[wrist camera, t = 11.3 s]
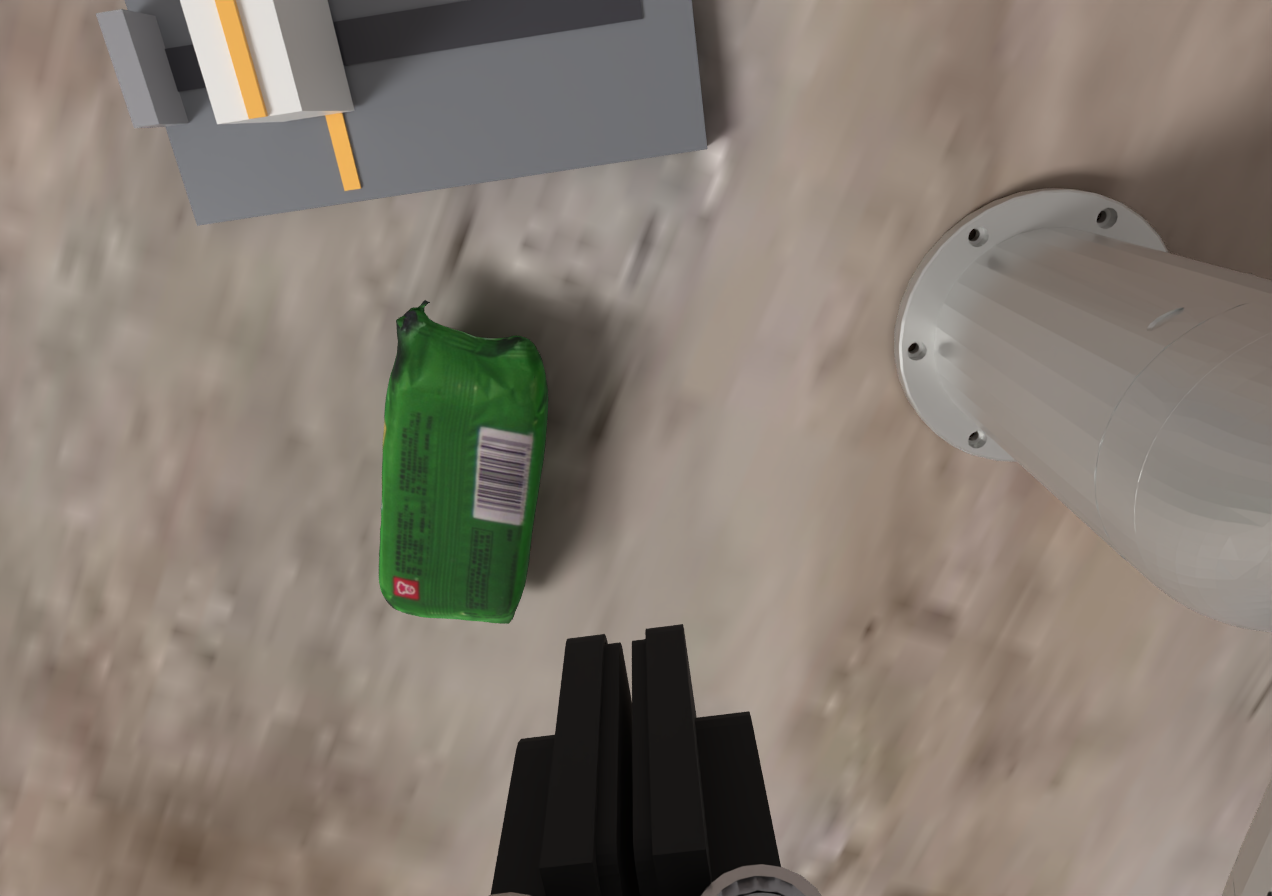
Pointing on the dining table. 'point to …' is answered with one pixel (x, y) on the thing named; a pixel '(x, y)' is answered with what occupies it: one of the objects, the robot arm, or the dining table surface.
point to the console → (426, 99)
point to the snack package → (460, 471)
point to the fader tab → (268, 59)
